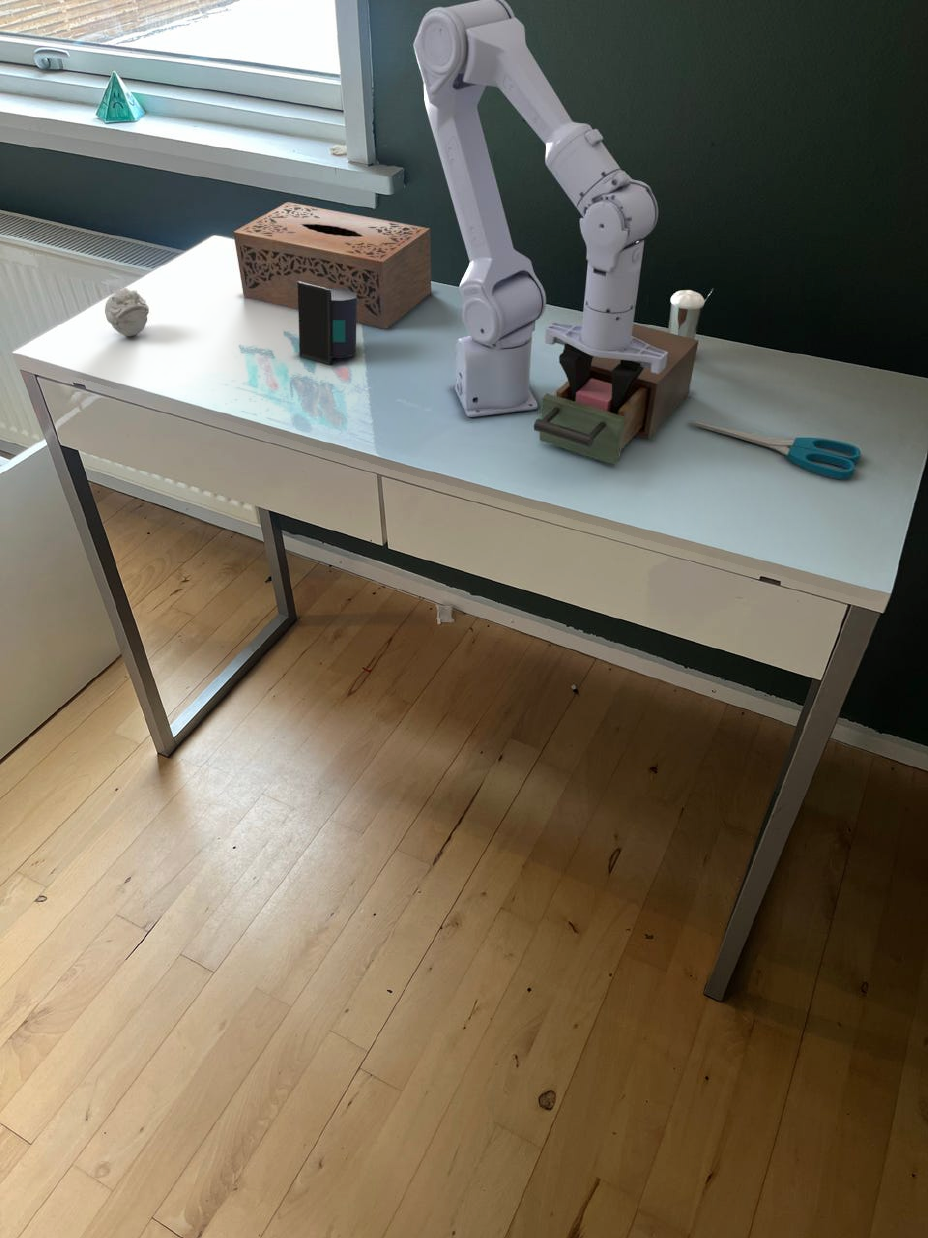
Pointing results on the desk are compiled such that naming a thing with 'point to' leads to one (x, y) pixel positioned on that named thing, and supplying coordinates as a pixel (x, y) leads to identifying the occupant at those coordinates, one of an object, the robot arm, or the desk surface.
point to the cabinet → (660, 374)
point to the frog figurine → (127, 312)
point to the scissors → (804, 451)
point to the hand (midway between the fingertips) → (597, 410)
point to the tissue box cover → (335, 260)
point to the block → (595, 394)
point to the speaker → (326, 323)
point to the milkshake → (685, 313)
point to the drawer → (592, 422)
